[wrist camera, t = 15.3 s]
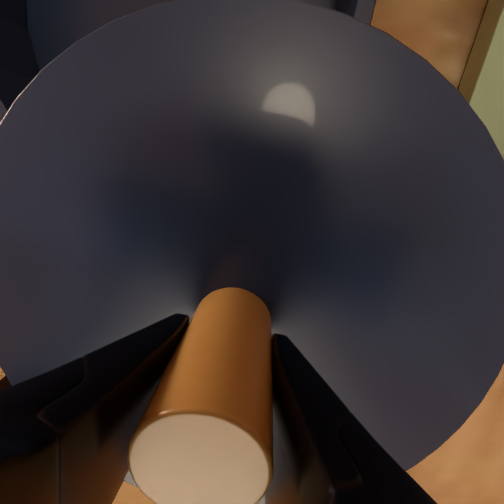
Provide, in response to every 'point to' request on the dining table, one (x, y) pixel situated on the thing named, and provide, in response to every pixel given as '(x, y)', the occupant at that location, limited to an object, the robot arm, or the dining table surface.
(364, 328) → the lid
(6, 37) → the pot
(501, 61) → the board
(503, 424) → the dining table surface
